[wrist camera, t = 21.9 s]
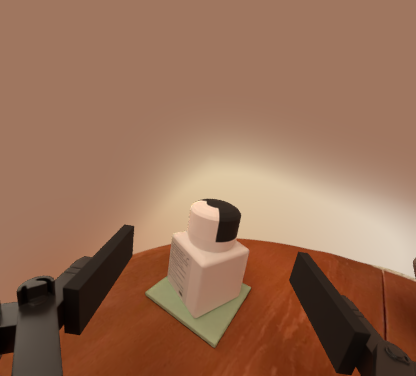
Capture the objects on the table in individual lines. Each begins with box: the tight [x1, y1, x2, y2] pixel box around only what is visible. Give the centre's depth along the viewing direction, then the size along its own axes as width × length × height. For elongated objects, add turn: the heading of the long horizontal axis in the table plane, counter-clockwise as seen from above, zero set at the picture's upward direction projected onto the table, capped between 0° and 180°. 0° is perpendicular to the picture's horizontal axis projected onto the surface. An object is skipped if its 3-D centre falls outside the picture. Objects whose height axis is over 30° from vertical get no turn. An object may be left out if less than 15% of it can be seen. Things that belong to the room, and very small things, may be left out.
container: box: [167, 199, 249, 318], centre depth 27 cm, size 8×8×13 cm
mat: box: [145, 276, 251, 348], centre depth 29 cm, size 11×11×1 cm
